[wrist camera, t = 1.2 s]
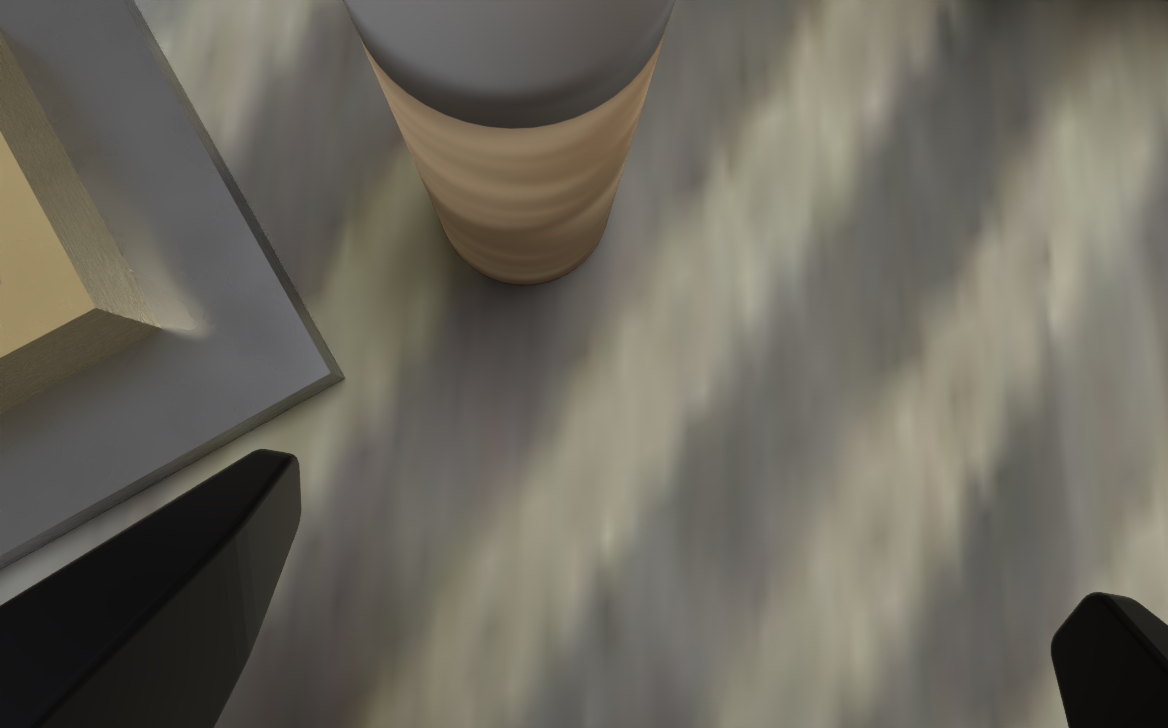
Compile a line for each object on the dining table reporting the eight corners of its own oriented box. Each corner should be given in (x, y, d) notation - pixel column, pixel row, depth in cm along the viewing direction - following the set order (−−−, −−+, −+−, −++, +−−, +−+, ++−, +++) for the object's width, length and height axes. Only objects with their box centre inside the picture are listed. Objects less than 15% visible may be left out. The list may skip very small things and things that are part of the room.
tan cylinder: (492, 315, 22) (432, 146, 10) (408, 169, 22) (243, -179, 10) (639, 233, 22) (765, -28, 10) (555, 91, 23) (575, -331, 10)
